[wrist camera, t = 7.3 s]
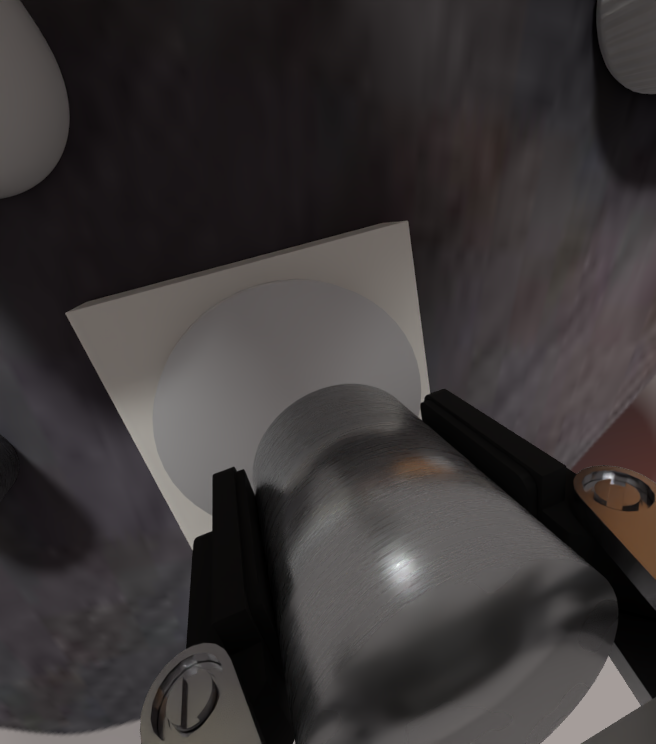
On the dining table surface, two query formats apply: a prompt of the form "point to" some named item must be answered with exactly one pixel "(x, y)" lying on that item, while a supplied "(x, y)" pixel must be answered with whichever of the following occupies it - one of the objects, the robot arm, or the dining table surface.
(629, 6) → the ramekin
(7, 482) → the cylinder
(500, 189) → the dining table surface
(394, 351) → the scale
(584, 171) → the dining table surface
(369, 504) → the disc
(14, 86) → the candle holder
